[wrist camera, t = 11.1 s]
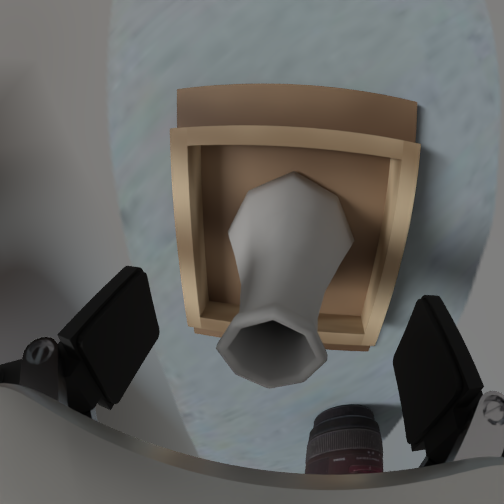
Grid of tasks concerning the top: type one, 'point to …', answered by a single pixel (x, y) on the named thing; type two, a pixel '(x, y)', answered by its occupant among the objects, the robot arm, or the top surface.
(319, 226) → the flask
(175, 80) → the top surface
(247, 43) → the top surface
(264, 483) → the robot arm
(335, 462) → the camera lens
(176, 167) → the shaker holder
